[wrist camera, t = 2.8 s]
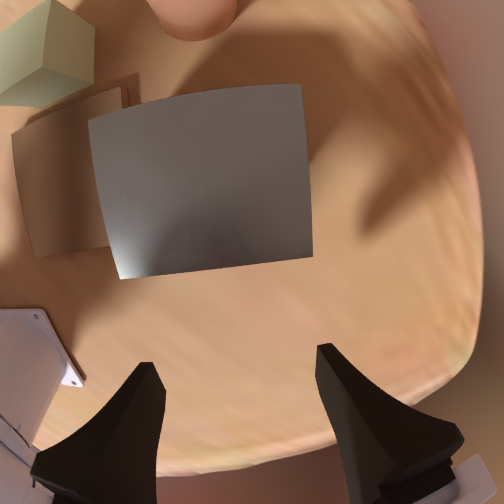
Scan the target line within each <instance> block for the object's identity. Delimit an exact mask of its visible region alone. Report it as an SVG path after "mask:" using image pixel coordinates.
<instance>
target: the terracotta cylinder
mask: <svg viewBox="0 0 504 504" xmlns="http://www.w3.org/2000/svg"><path fill="white" fill-rule="evenodd" d="M146 1H147V2H148V4H149V6H150V7H151V9H152V10H153V12H154V14H155V15H156V17H157V18H158V20H159V22H160V23H161V25H162V26H163V28H164V30H165V31H166V32H167V33H168V34H169V35H171V36H172V37H174V38H177V39H180V40H185V41H200V40H205V39H208V38H211V37H214V36H216V35H218V34H220V33H221V32H223V31H224V30H226V29H227V28H228V27H229V26H230V25H231V23H232V22H233V20H234V18H235V16H236V10H237V0H146Z"/></svg>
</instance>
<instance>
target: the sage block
mask: <svg viewBox="0 0 504 504" xmlns="http://www.w3.org/2000/svg"><path fill="white" fill-rule="evenodd" d="M94 42H95V27H94V26H92V25H91V24H90V23H88V22H87V21H86V20H84V19H83V18H81V17H80V16H79V15H77V14H76V13H74V12H73V11H72V10H70V9H69V8H67V7H66V6H64V5H63V4H61V3H60V2H58V1H57V0H47V1H45V2H43V3H42V4H40V5H39V6H37V7H36V8H34V9H32V10H31V11H29V12H28V13H27V14H25V15H24V16H22V17H21V18H19V19H18V20H17V21H15V22H14V23H13V24H11V25H10V26H9V27H7V28H6V29H5V30H4V31H2V32H1V33H0V105H5V106H24V107H37V108H42V107H44V106H46V105H48V104H50V103H52V102H54V101H56V100H59V99H61V98H63V97H65V96H67V95H70V94H72V93H74V92H76V91H79V90H81V89H84V88H86V87H89V86H91V85H94Z"/></svg>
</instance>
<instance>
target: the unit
mask: <svg viewBox="0 0 504 504" xmlns="http://www.w3.org/2000/svg"><path fill="white" fill-rule="evenodd" d="M88 127H89V137H90V146H91V153H92V160H93V167H94V173H95V179H96V185H97V190H98V195H99V200H100V205H101V210H102V214H103V219H104V223H105V227H106V231H107V235H108V239H109V243H110V247H111V250H112V254H113V257H114V261H115V264H116V268H117V271H118V274H119V277H120V280H121V279H130V278H139V277H148V276H158V275H167V274H175V273H184V272H193V271H201V270H210V269H218V268H227V267H235V266H243V265H252V264H260V263H268V262H276V261H284V260H291V259H299V258H307V257H313V242H312V212H311V191H310V175H309V161H308V148H307V136H306V126H305V116H304V106H303V98H302V89H301V84H270V85H254V86H242V87H232V88H223V89H215V90H208V91H201V92H195V93H189V94H184V95H179V96H174V97H169V98H164V99H159V100H155V101H151V102H147V103H143V104H139V105H135V106H131V107H128V108H124V109H121V110H118V111H114V112H111V113H108V114H105V115H102V116H99V117H96V118H93V119H90V120H88Z"/></svg>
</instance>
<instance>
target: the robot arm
mask: <svg viewBox="0 0 504 504" xmlns="http://www.w3.org/2000/svg"><path fill="white" fill-rule="evenodd" d="M315 378H316V382H317V386H318V390H319V394H320V397H321V400H322V402H323V405H324V407H325V410H326V412H327V415H328V417H329V420H330V423H331V425H332V428H333V430H334V433H335V436H336V439H337V442H338V445H339V450H340V454H341V458H342V462H343V466H344V471H345V476H346V481H347V486H348V492H349V498H350V504H483V503H484V502H485V501H487V500H488V499H489V498H490V497H491V496H493V495H494V494H495V493H496V492H497V488H496V487H495V484H494V482H493V480H492V478H491V476H490V475H489V473H488V471H487V469H486V467H485V465H484V463H483V461H482V460H481V458H480V456H479V454H475V455H474V456H472V457H471V458H470V459H468V460H467V461H465V462H464V463H462V464H460V465H459V466H458V467H456V468H455V469H453V470H452V469H451V467H450V466H451V465H452V463H453V462H452V460H451V458H450V457H451V456H452V455H453V454H454V453H455V452H456V451H457V450H458V449H459V448H460V447H461V446H462V445H463V443H464V440H465V439H464V437H463V436H462V434H461V432H460V430H459V429H458V428H457V426H456V425H455V424H454V423H451V422H448V421H444V420H441V419H438V418H434V417H432V416H429V415H427V414H424V413H422V412H419V411H417V410H415V409H413V408H411V407H409V406H407V405H405V404H403V403H402V402H400V401H398V400H397V399H395V398H393V397H392V396H390V395H389V394H387V393H386V392H384V391H383V390H382V389H380V388H379V387H378V386H376V385H375V384H374V383H373V382H371V381H370V380H369V379H368V378H367V377H365V376H364V375H363V374H362V373H361V372H360V371H359V370H358V369H356V368H355V367H354V366H353V365H352V364H351V363H350V362H349V361H348V360H347V359H346V358H345V357H344V356H343V355H342V354H341V353H340V352H339V351H338V349H337V348H336V347H335V346H334V345H333V344H332V343H327V344H322V345H317V356H316V371H315ZM60 384H63V385H69V386H76V387H83V386H84V381H83V379H82V378H81V376H80V375H79V373H78V371H77V370H76V368H75V367H74V365H73V363H72V362H71V360H70V358H69V356H68V355H67V353H66V351H65V349H64V348H63V346H62V344H61V342H60V340H59V338H58V337H57V335H56V333H55V331H54V329H53V327H52V325H51V323H50V321H49V319H48V316H47V314H46V312H45V311H44V310H43V309H40V308H37V309H0V504H157V499H156V457H157V449H158V443H159V438H160V433H161V428H162V423H163V418H164V412H165V403H166V390H165V388H164V385H163V383H162V381H161V379H160V377H159V375H158V373H157V371H156V369H155V366H154V364H153V362H140V363H139V365H138V366H137V367H136V368H135V370H134V371H133V372H132V373H131V375H130V376H129V377H128V378H127V380H126V381H125V382H124V383H123V385H122V386H121V387H120V388H119V390H118V391H117V392H116V393H115V395H114V396H113V397H112V398H111V399H110V400H109V401H108V402H107V404H106V405H105V406H104V407H103V408H102V409H101V410H100V411H99V412H98V413H97V414H96V415H95V416H94V417H93V418H92V419H91V420H90V421H88V422H87V423H86V424H85V425H84V426H82V427H81V428H80V429H78V430H77V431H76V432H74V433H73V434H72V435H70V436H69V437H67V438H66V439H64V440H63V441H61V442H59V443H57V444H56V445H54V446H52V447H50V448H48V449H46V450H43V451H41V452H39V453H37V454H36V455H35V454H34V453H33V452H32V451H31V450H30V447H31V445H32V443H33V440H34V438H35V435H36V433H37V431H38V429H39V426H40V424H41V422H42V420H43V418H44V416H45V414H46V411H47V409H48V407H49V405H50V403H51V401H52V399H53V397H54V395H55V393H56V391H57V390H58V388H59V386H60ZM41 485H43V486H44V487H46V488H47V489H49V490H50V491H52V492H53V493H55V494H54V497H52V496H50V495H48V494H46V493H44V492H42V491H41V490H42V488H41Z"/></svg>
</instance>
